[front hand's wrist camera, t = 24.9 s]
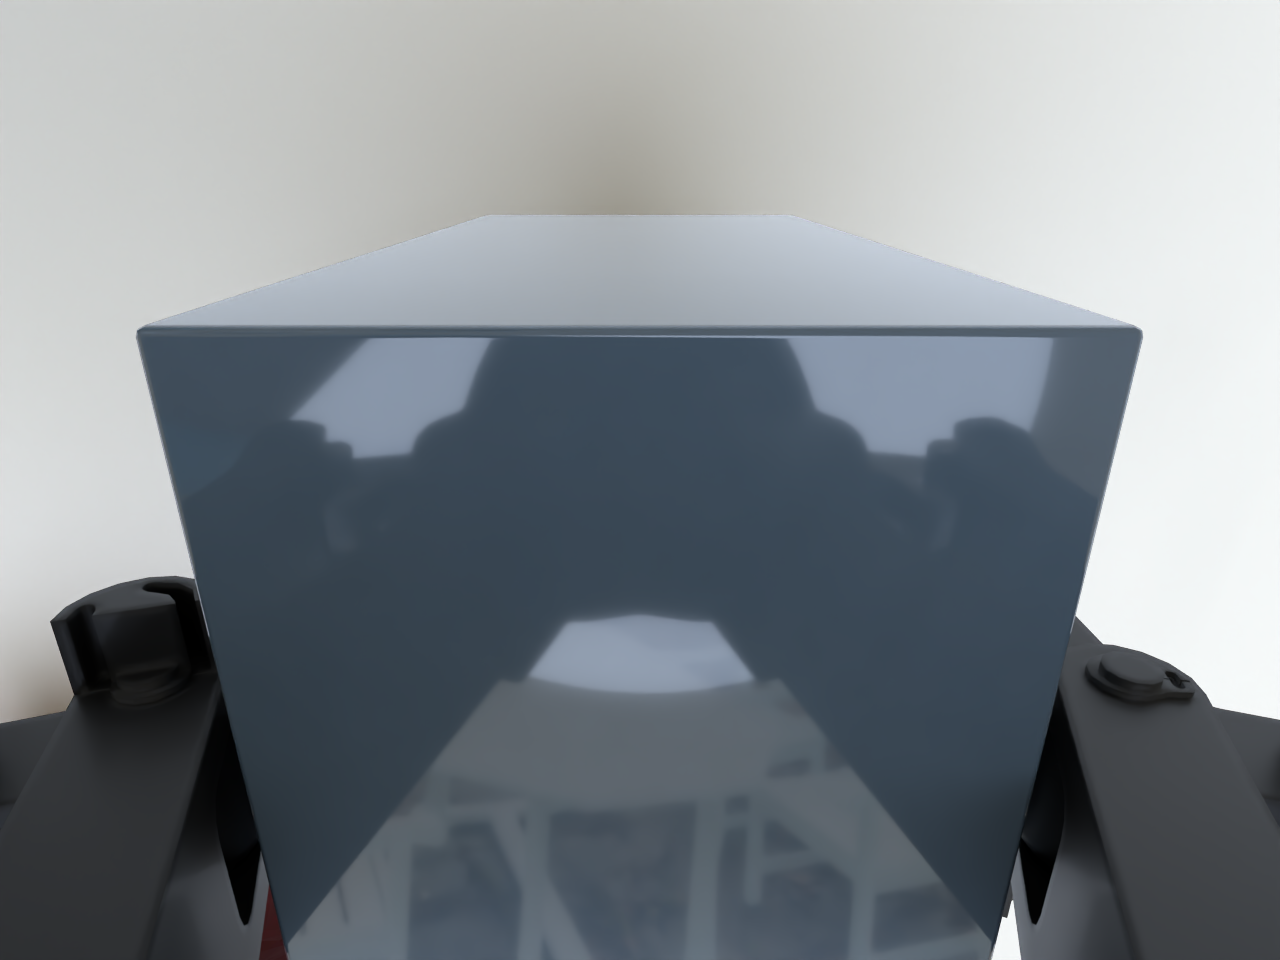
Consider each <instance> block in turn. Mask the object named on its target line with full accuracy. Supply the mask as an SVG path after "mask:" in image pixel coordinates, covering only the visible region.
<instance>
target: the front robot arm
mask: <svg viewBox="0 0 1280 960" xmlns="http://www.w3.org/2000/svg"><path fill="white" fill-rule="evenodd" d="M50 623H51V626H52V629H53V632H54V635H55V638H56V641H57V644H58V647H59V650H60V653H61V656H62V659H63V662H64V665H65V668H66V671H67V674H68V677H69V680H70V683H71V686H72V689H73V692H74V697H73V699H72V701H71V702H70V704H69V706H68V708H67V710H66V711H63V712H59V713H54V714H49V715H43V716H38V717H33V718H27V719H22V720H17V721H12V722H6V723H1V724H0V960H259V955H260V948H261V941H262V933H263V926H264V918H265V911H266V903H267V896H268V888H269V882H268V878H267V874H266V870H265V866H264V862H263V857H262V853H261V849H260V845H259V841H258V837H257V833H256V829H255V824H254V820H253V816H252V812H251V808H250V804H249V800H248V796H247V792H246V787H245V783H244V779H243V775H242V771H241V767H240V763H239V759H238V755H237V750H236V746H235V742H234V738H233V734H232V730H231V726H230V722H229V718H228V713H227V709H226V705H225V701H224V697H223V693H222V689H221V685H220V681H219V676H218V672H217V668H216V664H215V660H214V656H213V652H212V648H211V644H210V639H209V635H208V631H207V627H206V623H205V619H204V615H203V611H202V607H201V602H200V598H199V594H198V590H197V586H196V582H195V579H191V578H185V577H178V576H166V577H148V578H144V579H139V580H134V581H129V582H124V583H120V584H116V585H114V586H111V587H108V588H105V589H102V590H100V591H97V592H94V593H91V594H89V595H87V596H85V597H83V598H82V599H80V600H78V601H76V602H74V603H72V604H71V605H69V606H67V607H65V608H64V609H63V610H62V611H61V612H60V613H59V614H58V615H57V616H56V617H55V618H54V619H52V620H51V621H50ZM1012 900H1013V901H1014V909H1015V916H1016V923H1017V931H1018V938H1019V946H1020V953H1021V960H1280V720H1277V719H1272V718H1267V717H1261V716H1256V715H1251V714H1245V713H1240V712H1235V711H1229V710H1224V709H1219V708H1215V707H1213V706H1212V704H1211V703H1210V701H1209V699H1208V697H1207V695H1206V694H1205V693H1204V692H1203V690H1202V689H1201V688H1200V687H1199V686H1198V685H1197V684H1196V682H1195V681H1194V680H1193V679H1192V678H1191V677H1189V676H1188V675H1186V674H1185V673H1183V672H1181V671H1180V670H1178V669H1177V668H1175V667H1174V666H1172V665H1171V664H1169V663H1167V662H1165V661H1162V660H1160V659H1157V658H1155V657H1153V656H1150V655H1148V654H1145V653H1143V652H1140V651H1136V650H1132V649H1128V648H1124V647H1120V646H1115V645H1106V644H1102V643H1101V642H1100V641H1099V640H1098V639H1097V638H1096V637H1095V636H1094V634H1093V633H1092V632H1091V631H1090V630H1089V629H1088V628H1087V627H1086V626H1085V625H1084V624H1083V623H1082V622H1081V621H1080V620H1079V619H1078V618H1077V617H1076V616H1075V619H1074V623H1073V627H1072V631H1071V635H1070V640H1069V644H1068V648H1067V652H1066V656H1065V660H1064V664H1063V668H1062V672H1061V677H1060V681H1059V685H1058V689H1057V693H1056V697H1055V701H1054V705H1053V709H1052V714H1051V718H1050V722H1049V726H1048V730H1047V734H1046V738H1045V742H1044V746H1043V751H1042V755H1041V759H1040V763H1039V767H1038V771H1037V775H1036V779H1035V783H1034V788H1033V792H1032V796H1031V800H1030V804H1029V808H1028V812H1027V816H1026V820H1025V825H1024V829H1023V833H1022V837H1021V841H1020V845H1019V849H1018V853H1017V857H1016V862H1015V866H1014V870H1013V874H1012V878H1011V882H1010V886H1009V890H1008V894H1007V899H1006V903H1005V907H1004V911H1003V915H1002V917H1006V918H1007V916H1008V912H1009V908H1010V904H1011V901H1012Z"/></svg>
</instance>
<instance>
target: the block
mask: <svg viewBox="0 0 1280 960" xmlns="http://www.w3.org/2000/svg"><path fill="white" fill-rule="evenodd" d="M136 339H137V343H138V347H139V352H140V356H141V360H142V364H143V368H144V372H145V376H146V380H147V384H148V389H149V393H150V397H151V401H152V405H153V409H154V413H155V417H156V421H157V426H158V430H159V434H160V438H161V442H162V446H163V450H164V454H165V458H166V463H167V467H168V471H169V475H170V479H171V483H172V487H173V491H174V495H175V500H176V504H177V508H178V512H179V516H180V520H181V524H182V528H183V532H184V537H185V541H186V545H187V549H188V553H189V557H190V561H191V565H192V569H193V574H194V578H195V582H196V586H197V590H198V594H199V598H200V602H201V607H202V611H203V615H204V619H205V623H206V627H207V631H208V635H209V639H210V644H211V648H212V652H213V656H214V660H215V664H216V668H217V672H218V676H219V681H220V685H221V689H222V693H223V697H224V701H225V705H226V709H227V713H228V718H229V722H230V726H231V730H232V734H233V738H234V742H235V746H236V750H237V755H238V759H239V763H240V767H241V771H242V775H243V779H244V783H245V787H246V792H247V796H248V800H249V804H250V808H251V812H252V816H253V820H254V824H255V829H256V833H257V837H258V841H259V845H260V849H261V853H262V857H263V862H264V866H265V870H266V874H267V878H268V882H269V886H270V890H271V894H272V899H273V903H274V907H275V911H276V915H277V919H278V923H279V927H280V931H281V936H282V940H283V944H284V948H285V952H286V956H287V960H992V956H993V952H994V948H995V944H996V940H997V936H998V931H999V927H1000V923H1001V919H1002V915H1003V911H1004V907H1005V903H1006V899H1007V894H1008V890H1009V886H1010V882H1011V878H1012V874H1013V870H1014V866H1015V862H1016V857H1017V853H1018V849H1019V845H1020V841H1021V837H1022V833H1023V829H1024V825H1025V820H1026V816H1027V812H1028V808H1029V804H1030V800H1031V796H1032V792H1033V788H1034V783H1035V779H1036V775H1037V771H1038V767H1039V763H1040V759H1041V755H1042V751H1043V746H1044V742H1045V738H1046V734H1047V730H1048V726H1049V722H1050V718H1051V714H1052V709H1053V705H1054V701H1055V697H1056V693H1057V689H1058V685H1059V681H1060V677H1061V672H1062V668H1063V664H1064V660H1065V656H1066V652H1067V648H1068V644H1069V640H1070V635H1071V631H1072V627H1073V623H1074V619H1075V615H1076V611H1077V607H1078V603H1079V598H1080V594H1081V590H1082V586H1083V582H1084V578H1085V574H1086V570H1087V566H1088V561H1089V557H1090V553H1091V549H1092V545H1093V541H1094V537H1095V533H1096V529H1097V524H1098V520H1099V516H1100V512H1101V508H1102V504H1103V500H1104V496H1105V492H1106V487H1107V483H1108V479H1109V475H1110V471H1111V467H1112V463H1113V459H1114V455H1115V450H1116V446H1117V442H1118V438H1119V434H1120V430H1121V426H1122V422H1123V418H1124V413H1125V409H1126V405H1127V401H1128V397H1129V393H1130V389H1131V385H1132V381H1133V376H1134V372H1135V368H1136V364H1137V360H1138V356H1139V352H1140V348H1141V344H1142V339H1143V334H1142V330H1141V329H1140V328H1138V327H1136V326H1134V325H1131V324H1128V323H1125V322H1122V321H1119V320H1116V319H1113V318H1110V317H1107V316H1103V315H1100V314H1097V313H1094V312H1091V311H1088V310H1085V309H1082V308H1079V307H1076V306H1072V305H1069V304H1066V303H1063V302H1060V301H1057V300H1054V299H1051V298H1048V297H1045V296H1042V295H1038V294H1035V293H1032V292H1029V291H1026V290H1023V289H1020V288H1017V287H1014V286H1011V285H1007V284H1004V283H1001V282H998V281H995V280H992V279H989V278H986V277H983V276H980V275H977V274H973V273H970V272H967V271H964V270H961V269H958V268H955V267H952V266H949V265H946V264H942V263H939V262H936V261H933V260H930V259H927V258H924V257H921V256H918V255H915V254H912V253H908V252H905V251H902V250H899V249H896V248H893V247H890V246H887V245H884V244H881V243H877V242H874V241H871V240H868V239H865V238H862V237H859V236H856V235H853V234H850V233H847V232H843V231H840V230H837V229H834V228H831V227H828V226H825V225H822V224H819V223H816V222H813V221H809V220H806V219H803V218H800V217H797V216H794V215H485V216H482V217H479V218H476V219H473V220H470V221H466V222H463V223H460V224H457V225H454V226H451V227H448V228H445V229H442V230H439V231H435V232H432V233H429V234H426V235H423V236H420V237H417V238H414V239H411V240H408V241H404V242H401V243H398V244H395V245H392V246H389V247H386V248H383V249H380V250H377V251H373V252H370V253H367V254H364V255H361V256H358V257H355V258H352V259H349V260H346V261H342V262H339V263H336V264H333V265H330V266H327V267H324V268H321V269H318V270H315V271H311V272H308V273H305V274H302V275H299V276H296V277H293V278H290V279H287V280H284V281H280V282H277V283H274V284H271V285H268V286H265V287H262V288H259V289H256V290H253V291H249V292H246V293H243V294H240V295H237V296H234V297H231V298H228V299H225V300H222V301H218V302H215V303H212V304H209V305H206V306H203V307H200V308H197V309H194V310H191V311H187V312H184V313H181V314H178V315H175V316H172V317H169V318H166V319H163V320H160V321H156V322H153V323H150V324H147V325H145V326H142V327H140V328H139V329H138V330H137V334H136Z"/></svg>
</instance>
